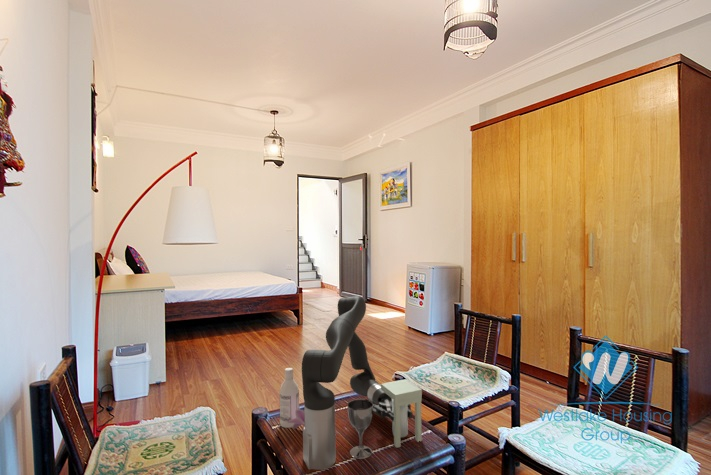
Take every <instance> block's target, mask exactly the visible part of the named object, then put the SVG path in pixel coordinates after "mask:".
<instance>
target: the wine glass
mask: <svg viewBox="0 0 711 475" xmlns="http://www.w3.org/2000/svg"><path fill="white" fill-rule="evenodd" d="M373 414H374V413H373V403H372V402H371V401H370V400H369V399H368V398H367V399H366V398H355V399H352V400H349V401H348V403H347V415H348V421H349V423H350V424H351V426H352V428H354V430H355V431H356V432H357V434H358V438H359V439H358V440H359V445H355V446H353V447H352V448H350V450H349V455H350V456H351V457H353V458H354V459H359V460H364V459H367V458H369V457H371V456H372V455H373V450H372V448H371V447H369V446H367V445H363V435H364V433H365V430H367V428H368V427H369V426H370V425H371V422H372V421H373V420H372V419H373Z"/></svg>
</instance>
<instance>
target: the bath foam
mask: <svg viewBox="0 0 711 475" xmlns="http://www.w3.org/2000/svg"><path fill="white" fill-rule="evenodd" d="M296 409H300V390H299V386H298V383H297V382H296V381H295V379H294V368H293V367H286V368H284V380H283V382H282V383H281V385H280V389H279V424H280V426H281V427H282V428H286V429H290V428H292V429H293V425H294V423H287V422H288V421H290V420H292V419H295V418H296V415H295V410H296Z"/></svg>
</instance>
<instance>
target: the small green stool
mask: <svg viewBox="0 0 711 475" xmlns="http://www.w3.org/2000/svg"><path fill="white" fill-rule="evenodd" d="M380 385H381V390H382V391H383V392H385V393H386V394H387V395H388V396H390V397H391V398H392V399H393V401H394V435H393V446H394V447H395V448H401V447H402V445H401V444H402V443H401V442H402V441H401V437H400V406H404V405H408V404H411V405H412V404H414V432H415V433H414V434H415V438H414V439H415V441H416V442H417V443H420V442H422V440H423V439H422V438H423V436H422V433H423V432H422V400H423V399H422V398H423V397H422V395H423V389H422V388H421V387H419V386H417V385H416V384H414V383H413V382H411V381H410V380H408V379H407V378H405V379H400V380H399V379H398V380H394V381H389V382H384V383H380ZM419 441H420V442H419Z"/></svg>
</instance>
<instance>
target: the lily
mask: <svg viewBox="0 0 711 475" xmlns="http://www.w3.org/2000/svg"><path fill="white" fill-rule="evenodd" d="M295 415H296V418H295V419H292V420H290V421H288V422H287V423H294V425H293V427H292V429H293V430H294V429H295V430H296V429H297V428H299V427H300V426H304V427H305V415H304V409H300V408H299V409H296V410H295Z"/></svg>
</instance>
